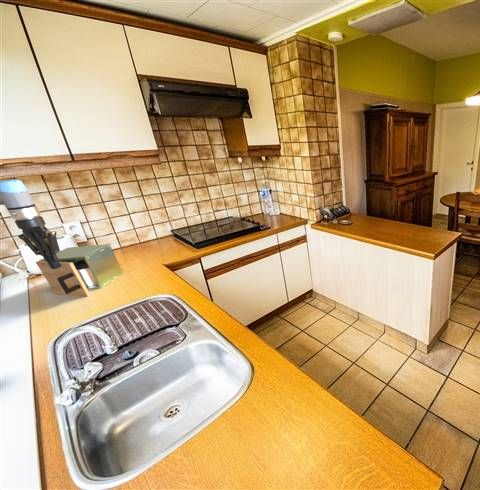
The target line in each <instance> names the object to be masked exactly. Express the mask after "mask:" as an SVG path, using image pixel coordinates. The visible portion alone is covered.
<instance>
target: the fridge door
mask: <svg viewBox="0 0 480 490" xmlns="http://www.w3.org/2000/svg"><path fill="white" fill-rule="evenodd" d="M59 263H60V264H61V267H59V268H57V269H51V267H50V266H49V264H48V262H46V261H39V260H37V261H35V264H36V266H37V267H38V268H39V270H40V272H41V273H42V275H43V276H44V278H45V280H46V281H47V283H48V284H49V287H50V288H51V289H52V291H53V292H54V294H55V295H63V296H79V297H89V296H91V293H90V291H89V290H88V289H87V288H86V286H85V284H84V282H83V280H82V279H81V277H80V275H79V273H78V272H77V270H76V268H75V266H74V264H73V263H72V262H59Z"/></svg>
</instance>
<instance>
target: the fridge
mask: <svg viewBox="0 0 480 490" xmlns="http://www.w3.org/2000/svg"><path fill="white" fill-rule="evenodd" d="M56 255H57V257H58V259H59V260H58V261H59V262H72V263H73V264H74V263H75V262H77V261H80V260H83V259H85V261H86V263H87V265H88V267H89V269H90V271H91V272H92V274H93V276H94V278H95V280H96V282H97V284H95V285H92V286H86V288H87V289H88V291H89V290H97V289H98V290H99V289H103V288H105V287H106V286H108V285H110V284H111V283H112V282H113V281H115V280H116V279H118V278H120V277H121V276H122V275H124V271H123V269H122V267H121V265H120V263H119V260H118V258H117V257H116V255H115V252H114V251H113V249H112V246H111V245H110V243H105V244H95V245H82V246H70V247H65V248H63V249H61V250H60V251H59V252H57V253H56ZM38 261H45V259H44V257H42V258H41V259H39V260H38Z"/></svg>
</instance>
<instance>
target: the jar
mask: <svg viewBox="0 0 480 490" xmlns="http://www.w3.org/2000/svg"><path fill="white" fill-rule="evenodd" d="M74 266H75V268H76V270H77V272H78V273H79V275H80V277H81V279H82V280H83V282H84V284H85V286H92V285H95V284H97V282H96V280H95V278H94V276H93V274H92V272H91V271H90V269H89V267H88V265H87V263H86V261H85V259H83V260H80V261H77V262H75V263H74Z"/></svg>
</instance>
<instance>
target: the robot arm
mask: <svg viewBox="0 0 480 490" xmlns="http://www.w3.org/2000/svg"><path fill="white" fill-rule="evenodd" d="M2 205H3V206H4V207H5V208H6V210H7V211H8V213H9V215H10V217H11V218H12V220H14V223H15V226H16V227H17V229H19V230H21V232H22V233H21V234H18V235H17V237H18V238H19V239H20V240H22V241H23V242H24V243H25V244H26V246H27V247H28V248H29V249H30V250H31V251H32V252H33V253H34V254H35V256H41V257H42V258H44V259H45V261H46V262H48V264H49V266H50V267H51V269H57V268H59V267H61V264H60V263H59V261H58V260H59V259H58V257H57V255H56V253H57V252H59V251H61V250H60V246H59V243H58V239H57V238H58V237H57V231H55V230H54V231H51V230H49V229H48V227H46V221H45V219H44V218H43V216H42V215H41V212H40V210H39V208H38V207H37V206H36V203H35V201H34V200H33V198H32V196H31V194H30V192H29V191H28V188H27V187H26V186H25V184H24V183H23V181H22V180H20V179H4V180H2V179H1V180H0V206H2Z"/></svg>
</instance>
